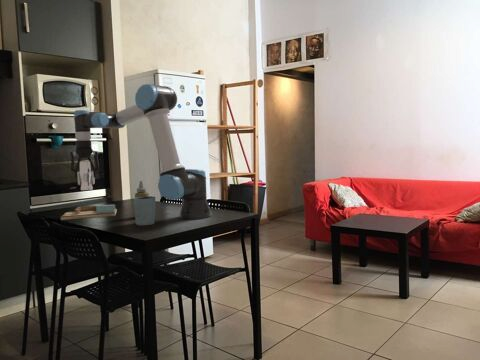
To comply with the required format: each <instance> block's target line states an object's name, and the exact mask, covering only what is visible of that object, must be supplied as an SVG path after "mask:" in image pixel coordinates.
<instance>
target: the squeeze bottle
mask: <svg viewBox="0 0 480 360" xmlns="http://www.w3.org/2000/svg"><path fill="white" fill-rule="evenodd" d="M145 196H149V193H148V192H147V188H146V187H145V186H144V182H143V180H139V185H138V187H137V188H136V193H135V194H134V198H135V197H145Z"/></svg>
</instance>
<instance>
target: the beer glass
mask: <svg viewBox="0 0 480 360" xmlns="http://www.w3.org/2000/svg"><path fill="white" fill-rule="evenodd" d="M78 172H79V175H80V191H92V190H93V189H94V187H93V183H92V172H93V169H92V165H91V161H89V160H81V162H79V169H78Z"/></svg>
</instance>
